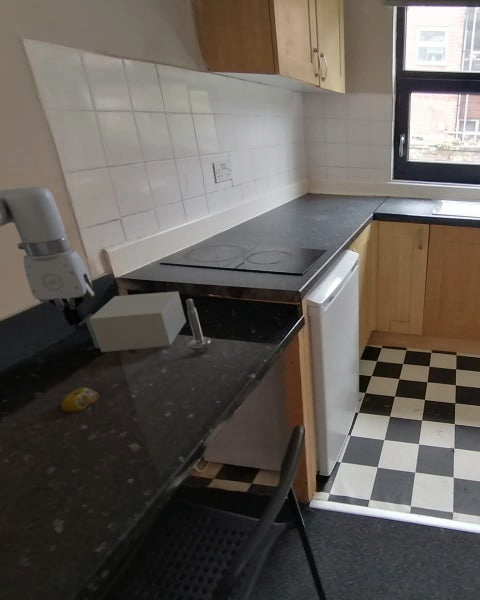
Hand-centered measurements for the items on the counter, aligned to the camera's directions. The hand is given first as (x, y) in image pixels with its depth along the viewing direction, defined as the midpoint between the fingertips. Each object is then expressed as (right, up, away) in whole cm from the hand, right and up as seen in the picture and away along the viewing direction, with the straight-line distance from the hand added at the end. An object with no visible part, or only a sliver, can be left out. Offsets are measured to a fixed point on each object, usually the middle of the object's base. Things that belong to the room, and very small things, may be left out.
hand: (76, 322), depth 94 cm
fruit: (+20, -15, -21) cm, 32 cm away
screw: (+30, -6, -2) cm, 31 cm away
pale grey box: (+14, -4, +4) cm, 15 cm away
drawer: (+10, -3, +3) cm, 11 cm away
